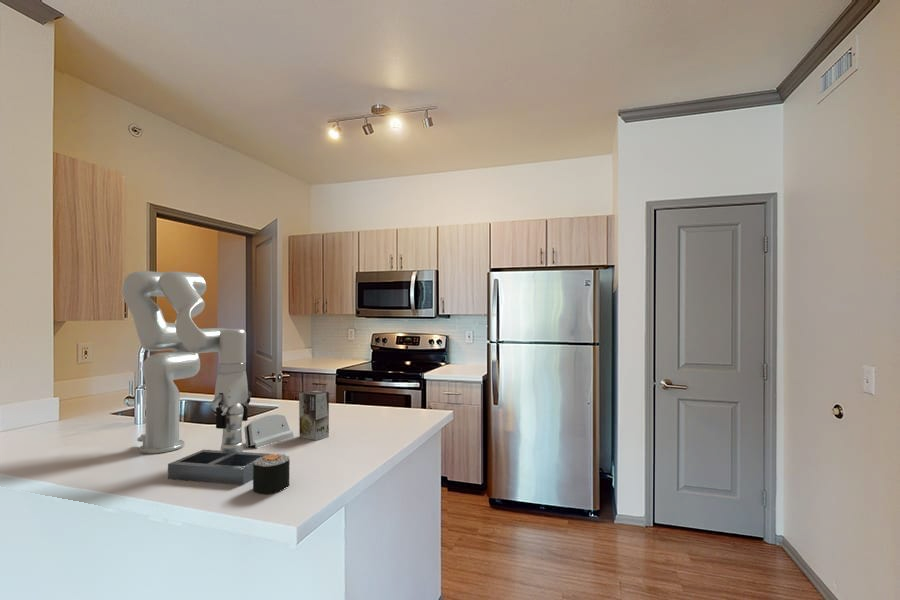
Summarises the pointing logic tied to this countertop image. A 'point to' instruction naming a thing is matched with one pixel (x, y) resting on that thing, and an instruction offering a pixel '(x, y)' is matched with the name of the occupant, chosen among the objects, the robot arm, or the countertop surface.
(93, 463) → the countertop surface
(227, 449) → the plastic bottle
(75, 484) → the countertop surface
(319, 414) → the coffee box
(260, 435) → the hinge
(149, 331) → the robot arm
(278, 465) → the sushi
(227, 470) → the tray
